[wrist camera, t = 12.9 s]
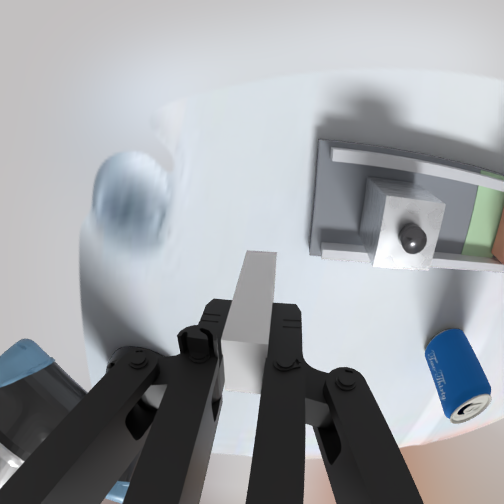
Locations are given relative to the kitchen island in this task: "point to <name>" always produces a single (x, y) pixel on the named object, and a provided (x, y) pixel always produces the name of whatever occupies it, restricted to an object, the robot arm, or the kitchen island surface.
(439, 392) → the beverage can
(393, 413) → the kitchen island surface
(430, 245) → the white cube with knob
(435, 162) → the base
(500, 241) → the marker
